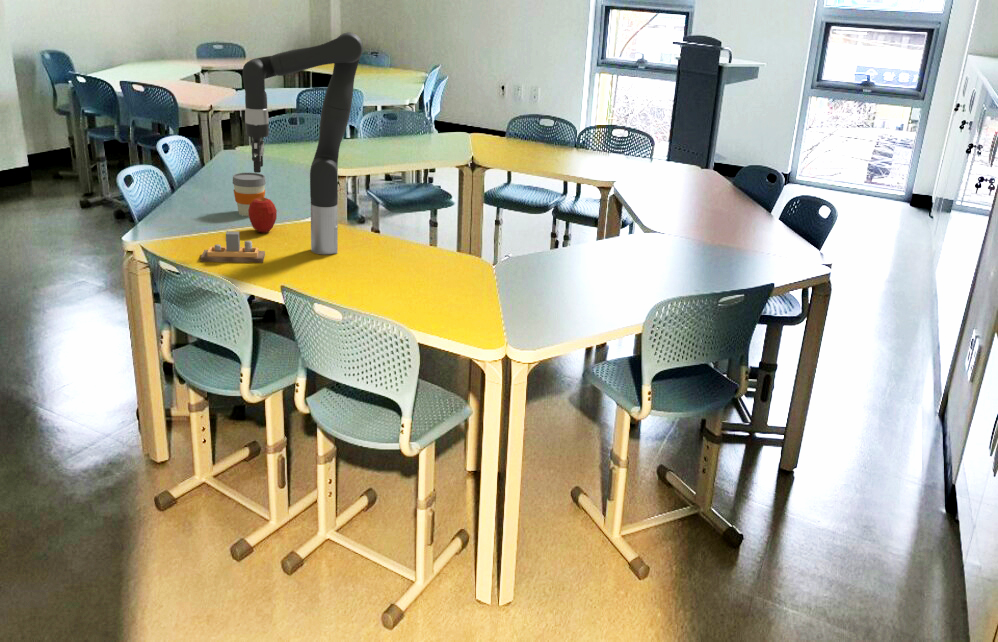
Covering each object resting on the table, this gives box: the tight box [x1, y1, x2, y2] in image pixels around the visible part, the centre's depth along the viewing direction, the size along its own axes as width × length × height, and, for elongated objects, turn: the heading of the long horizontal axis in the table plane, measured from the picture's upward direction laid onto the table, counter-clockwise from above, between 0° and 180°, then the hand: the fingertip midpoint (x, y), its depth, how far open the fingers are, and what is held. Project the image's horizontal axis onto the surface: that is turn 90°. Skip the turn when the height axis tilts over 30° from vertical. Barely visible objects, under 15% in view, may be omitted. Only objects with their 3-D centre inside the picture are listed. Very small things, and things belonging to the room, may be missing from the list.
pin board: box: [200, 240, 266, 264], centre depth 287 cm, size 20×8×6 cm, turn 100°
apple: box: [248, 196, 277, 234], centre depth 315 cm, size 10×10×14 cm
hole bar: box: [207, 230, 260, 257], centre depth 287 cm, size 16×6×8 cm, turn 100°
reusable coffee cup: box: [232, 172, 267, 217], centre depth 335 cm, size 13×13×15 cm
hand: (258, 169), depth 290 cm, fingers open, 8 cm apart
